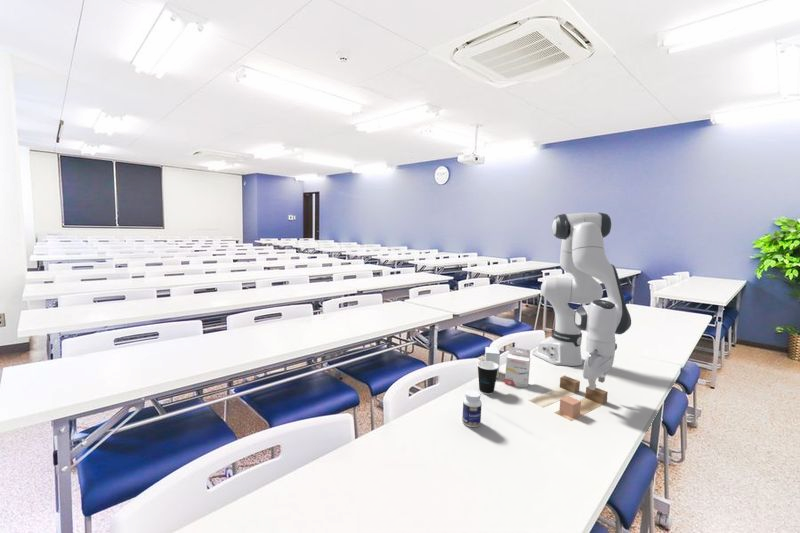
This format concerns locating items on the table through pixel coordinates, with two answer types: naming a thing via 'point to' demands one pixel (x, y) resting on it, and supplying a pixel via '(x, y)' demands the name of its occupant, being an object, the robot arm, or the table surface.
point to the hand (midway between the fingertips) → (596, 385)
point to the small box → (492, 356)
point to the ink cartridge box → (517, 367)
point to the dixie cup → (487, 376)
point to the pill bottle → (472, 409)
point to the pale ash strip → (558, 392)
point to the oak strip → (589, 402)
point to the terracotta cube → (570, 406)
